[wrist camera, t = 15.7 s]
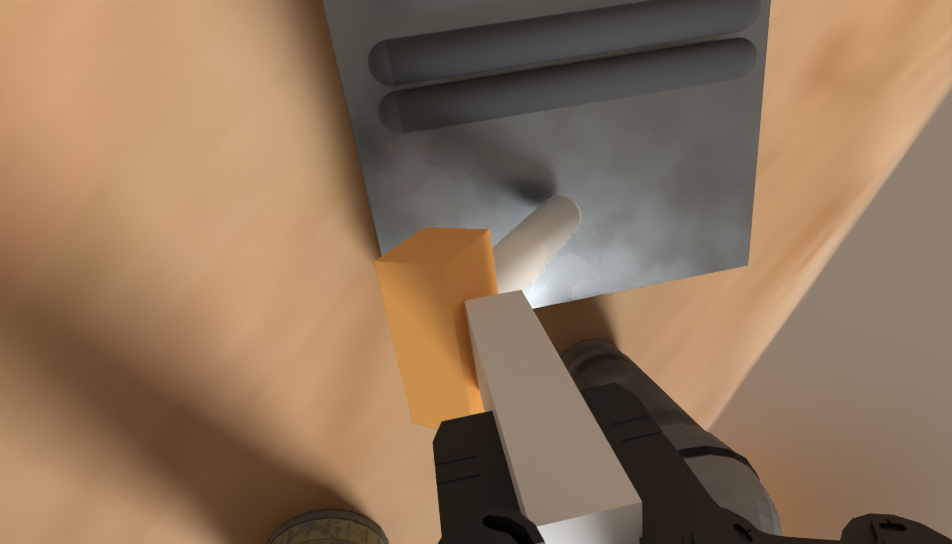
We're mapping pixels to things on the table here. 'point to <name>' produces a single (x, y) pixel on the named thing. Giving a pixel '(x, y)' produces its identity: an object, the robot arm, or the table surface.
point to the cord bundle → (555, 38)
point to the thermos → (329, 529)
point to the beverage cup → (679, 433)
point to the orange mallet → (459, 300)
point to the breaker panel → (563, 156)
